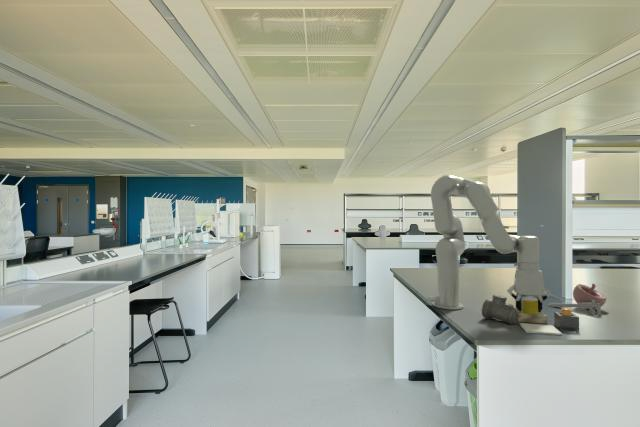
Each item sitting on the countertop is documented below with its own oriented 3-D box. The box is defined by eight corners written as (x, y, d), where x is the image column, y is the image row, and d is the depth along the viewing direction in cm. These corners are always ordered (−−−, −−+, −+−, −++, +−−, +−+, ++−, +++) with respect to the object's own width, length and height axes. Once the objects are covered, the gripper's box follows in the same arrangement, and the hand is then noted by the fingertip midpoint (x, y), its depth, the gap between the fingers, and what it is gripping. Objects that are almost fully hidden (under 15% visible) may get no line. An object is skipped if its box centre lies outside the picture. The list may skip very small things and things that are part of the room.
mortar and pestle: (602, 313, 154) (602, 286, 154) (569, 308, 163) (569, 283, 163) (609, 309, 162) (609, 283, 162) (577, 304, 171) (577, 279, 171)
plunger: (563, 323, 133) (563, 309, 133) (560, 321, 136) (560, 307, 136) (572, 324, 132) (572, 310, 132) (569, 321, 135) (569, 308, 135)
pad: (526, 332, 129) (526, 330, 129) (519, 324, 139) (519, 322, 139) (562, 335, 126) (562, 333, 126) (552, 326, 136) (552, 325, 136)
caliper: (600, 316, 151) (600, 300, 151) (599, 316, 151) (599, 301, 151) (547, 305, 169) (547, 292, 169) (546, 306, 168) (546, 292, 168)
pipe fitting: (478, 318, 146) (482, 293, 146) (489, 316, 151) (493, 292, 150) (508, 329, 136) (512, 302, 136) (519, 327, 141) (523, 301, 141)
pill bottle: (540, 321, 143) (540, 291, 143) (522, 320, 144) (522, 291, 144) (534, 316, 149) (534, 288, 149) (517, 316, 151) (517, 287, 151)
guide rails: (518, 321, 143) (518, 313, 143) (512, 314, 153) (512, 307, 153) (547, 323, 140) (547, 315, 140) (538, 316, 151) (538, 308, 151)
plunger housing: (559, 329, 132) (559, 315, 132) (554, 325, 138) (554, 311, 138) (579, 331, 131) (579, 317, 131) (572, 326, 136) (572, 312, 136)
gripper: (506, 267, 146) (507, 311, 146) (556, 268, 141) (556, 315, 141) (503, 264, 153) (503, 307, 153) (549, 266, 148) (550, 310, 148)
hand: (528, 310), depth 147 cm, fingers closed on pill bottle, 6 cm apart
